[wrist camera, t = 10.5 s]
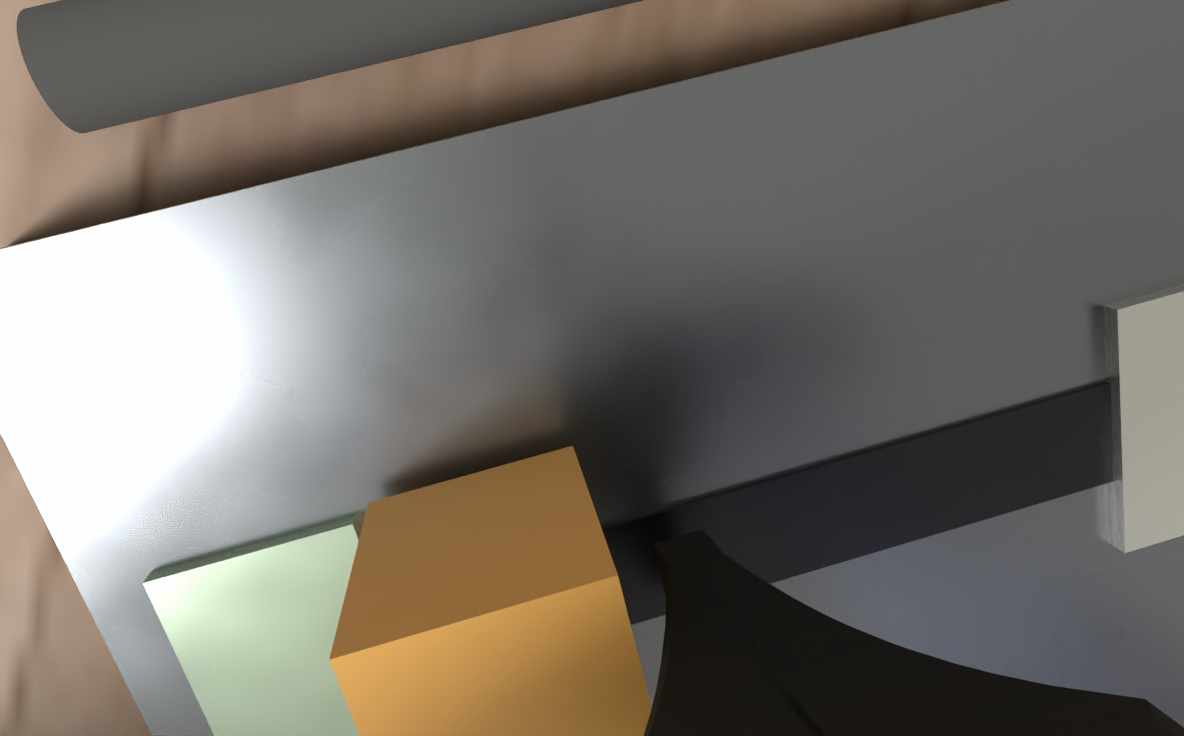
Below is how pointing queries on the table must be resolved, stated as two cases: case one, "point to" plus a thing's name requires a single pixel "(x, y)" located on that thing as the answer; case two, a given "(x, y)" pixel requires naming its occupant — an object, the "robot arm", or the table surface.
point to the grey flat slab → (657, 361)
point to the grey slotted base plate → (238, 46)
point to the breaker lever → (489, 612)
